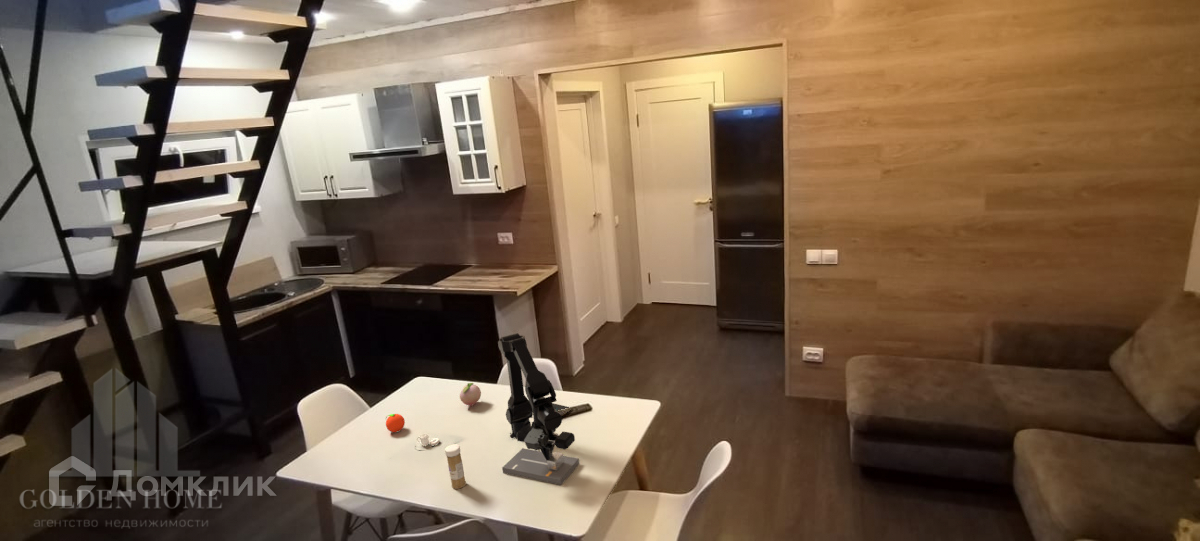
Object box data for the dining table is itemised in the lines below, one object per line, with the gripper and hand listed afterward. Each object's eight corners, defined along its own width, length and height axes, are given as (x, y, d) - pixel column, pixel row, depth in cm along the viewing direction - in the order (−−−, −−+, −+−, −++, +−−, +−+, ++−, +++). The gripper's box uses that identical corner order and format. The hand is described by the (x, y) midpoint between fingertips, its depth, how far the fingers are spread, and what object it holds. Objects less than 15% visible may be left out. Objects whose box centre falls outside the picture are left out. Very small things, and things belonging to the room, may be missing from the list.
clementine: (381, 434, 223) (378, 417, 221) (393, 425, 229) (390, 409, 228) (398, 436, 220) (394, 419, 218) (410, 427, 226) (406, 411, 225)
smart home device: (558, 416, 219) (519, 406, 231) (558, 420, 220) (520, 410, 231) (571, 407, 226) (533, 397, 237) (571, 411, 226) (533, 401, 238)
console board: (503, 472, 188) (502, 467, 188) (523, 453, 199) (522, 447, 198) (561, 485, 178) (560, 479, 178) (579, 463, 189) (578, 458, 188)
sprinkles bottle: (449, 486, 184) (441, 448, 181) (460, 479, 188) (453, 442, 184) (457, 491, 181) (450, 453, 178) (469, 483, 185) (462, 446, 181)
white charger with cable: (443, 441, 213) (441, 432, 212) (428, 453, 206) (426, 443, 205) (425, 438, 217) (423, 429, 216) (410, 450, 210) (408, 440, 209)
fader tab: (548, 468, 184) (547, 460, 183) (556, 460, 188) (555, 452, 187) (556, 470, 182) (555, 462, 182) (564, 461, 187) (563, 453, 186)
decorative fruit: (480, 409, 235) (476, 387, 232) (460, 411, 235) (456, 389, 232) (484, 399, 244) (481, 377, 241) (465, 401, 244) (461, 379, 242)
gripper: (503, 425, 180) (510, 469, 183) (554, 433, 171) (560, 480, 175) (523, 408, 189) (529, 450, 193) (572, 415, 181) (578, 460, 185)
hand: (548, 460), depth 186 cm, fingers closed
